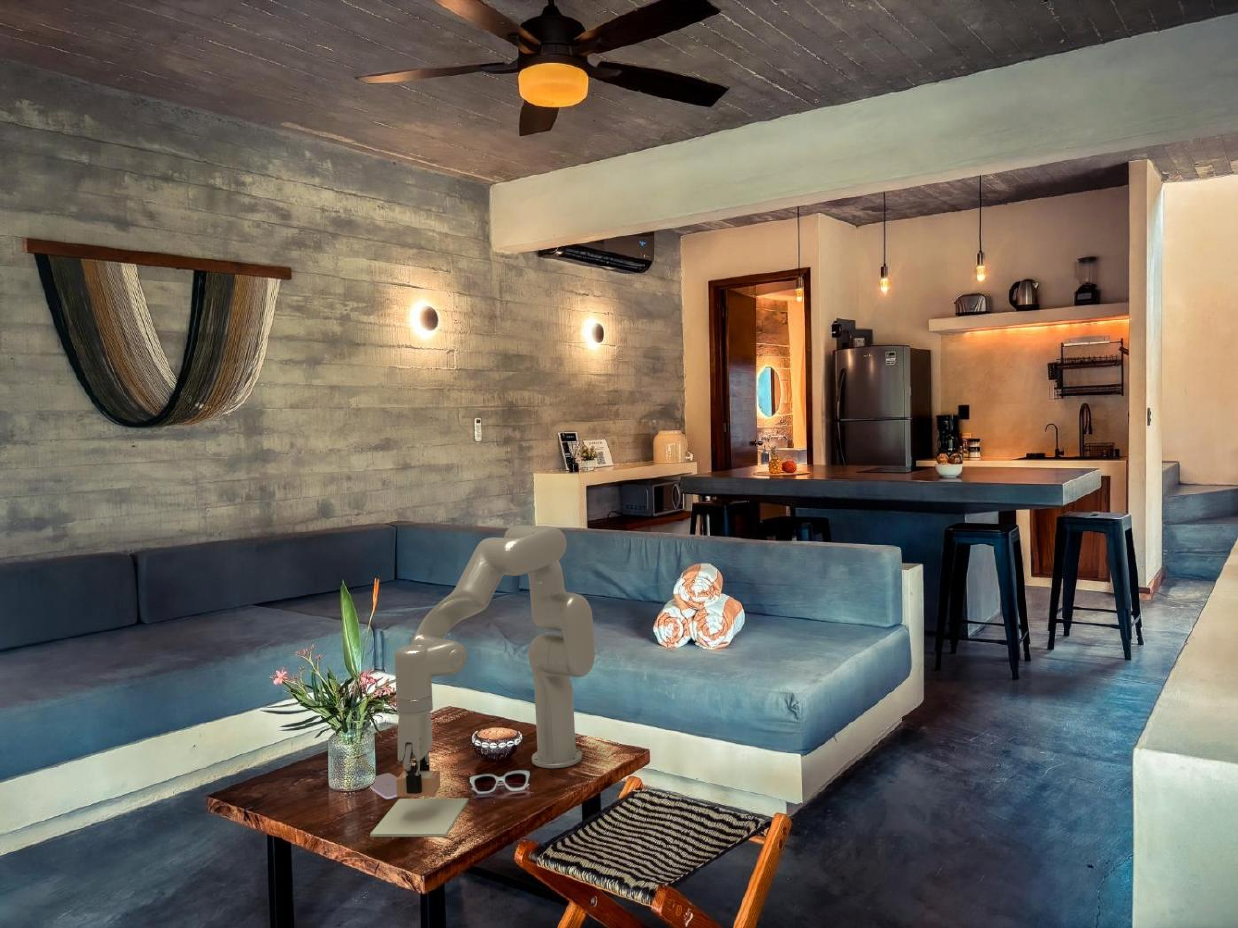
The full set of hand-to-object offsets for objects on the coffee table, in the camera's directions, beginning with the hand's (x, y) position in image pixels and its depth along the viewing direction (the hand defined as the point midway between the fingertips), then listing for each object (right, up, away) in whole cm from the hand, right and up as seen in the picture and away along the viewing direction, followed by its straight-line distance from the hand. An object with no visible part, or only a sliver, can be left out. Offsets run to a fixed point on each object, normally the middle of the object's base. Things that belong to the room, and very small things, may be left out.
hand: (418, 786), depth 199 cm
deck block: (0, -1, 0) cm, 1 cm away
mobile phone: (-11, -7, +20) cm, 24 cm away
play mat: (0, -7, 0) cm, 7 cm away
